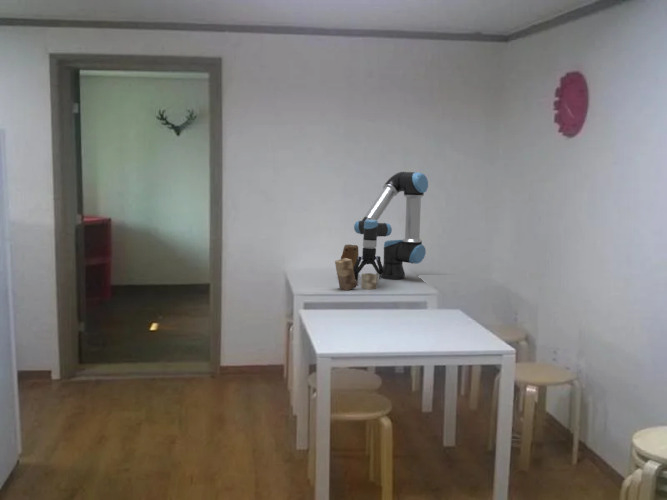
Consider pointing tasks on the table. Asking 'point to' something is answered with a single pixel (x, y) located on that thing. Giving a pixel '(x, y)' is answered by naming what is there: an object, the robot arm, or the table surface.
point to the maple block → (368, 281)
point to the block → (350, 253)
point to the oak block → (344, 267)
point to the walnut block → (347, 282)
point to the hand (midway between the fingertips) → (367, 285)
